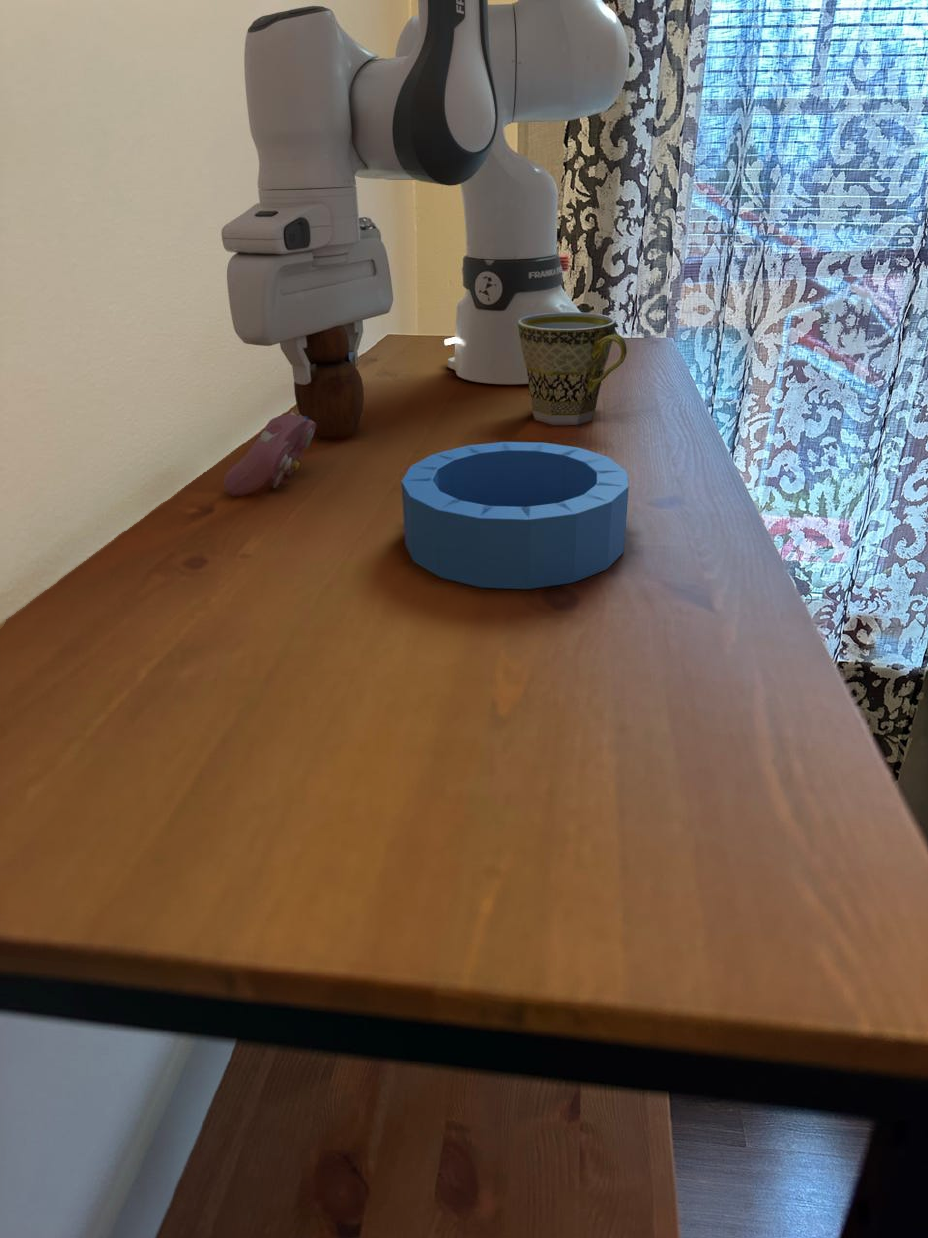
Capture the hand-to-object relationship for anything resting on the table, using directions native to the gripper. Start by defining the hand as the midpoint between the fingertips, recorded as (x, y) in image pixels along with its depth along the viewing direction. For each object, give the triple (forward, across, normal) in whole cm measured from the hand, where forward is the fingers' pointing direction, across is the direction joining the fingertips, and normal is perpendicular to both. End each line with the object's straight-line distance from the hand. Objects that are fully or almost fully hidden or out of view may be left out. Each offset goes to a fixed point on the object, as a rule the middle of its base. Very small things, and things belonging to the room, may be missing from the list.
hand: (327, 375), depth 83 cm
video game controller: (+6, +13, +4) cm, 15 cm away
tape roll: (+6, +15, +29) cm, 33 cm away
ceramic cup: (+6, -16, +20) cm, 26 cm away
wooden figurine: (+6, 0, 0) cm, 6 cm away
